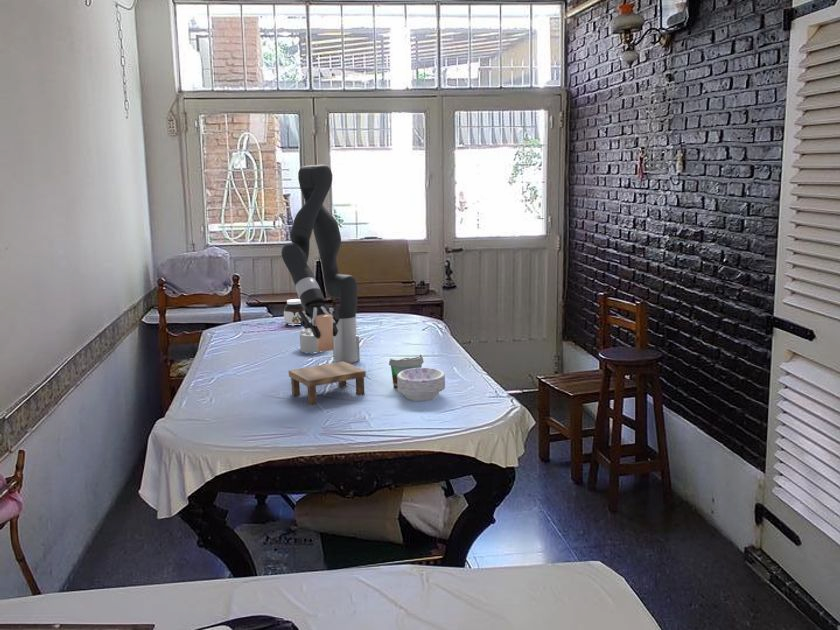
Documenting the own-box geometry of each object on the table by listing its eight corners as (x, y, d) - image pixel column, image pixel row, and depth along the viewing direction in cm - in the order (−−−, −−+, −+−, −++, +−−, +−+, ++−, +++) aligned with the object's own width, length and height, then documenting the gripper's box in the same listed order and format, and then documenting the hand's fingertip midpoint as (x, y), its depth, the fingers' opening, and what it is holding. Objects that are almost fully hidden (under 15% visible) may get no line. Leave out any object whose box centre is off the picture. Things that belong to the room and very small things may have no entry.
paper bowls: (408, 406, 249) (408, 382, 248) (390, 394, 263) (390, 370, 262) (453, 400, 255) (452, 375, 254) (433, 388, 269) (432, 365, 268)
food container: (397, 392, 265) (396, 362, 264) (389, 387, 271) (388, 358, 269) (430, 386, 271) (430, 357, 269) (422, 382, 276) (421, 354, 274)
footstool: (344, 384, 277) (343, 361, 275) (366, 394, 263) (365, 370, 262) (289, 393, 267) (288, 370, 265) (310, 405, 253) (308, 380, 252)
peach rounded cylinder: (329, 346, 266) (328, 313, 264) (336, 349, 261) (335, 316, 259) (314, 348, 263) (312, 315, 261) (321, 351, 258) (319, 318, 256)
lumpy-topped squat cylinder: (326, 345, 336) (325, 325, 334) (326, 353, 323) (324, 331, 321) (301, 346, 335) (300, 326, 333) (299, 354, 322) (298, 332, 320)
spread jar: (282, 326, 378) (281, 301, 376) (290, 321, 389) (289, 297, 387) (307, 326, 376) (306, 301, 374) (314, 321, 387) (313, 297, 385)
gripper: (292, 289, 261) (309, 332, 253) (332, 285, 269) (350, 326, 261) (287, 303, 267) (303, 345, 259) (326, 298, 274) (344, 339, 266)
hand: (327, 335), depth 260 cm, fingers closed on peach rounded cylinder, 5 cm apart
